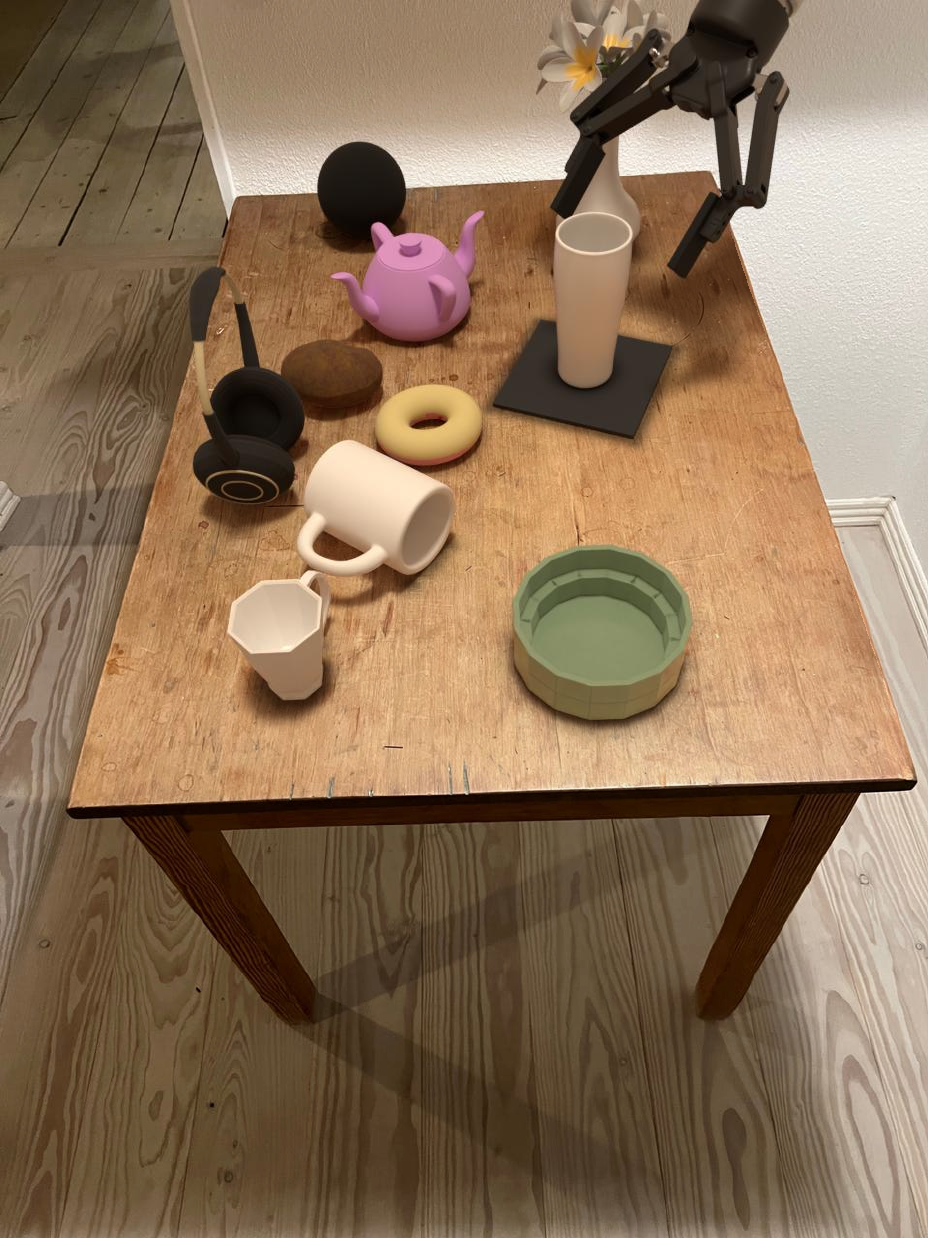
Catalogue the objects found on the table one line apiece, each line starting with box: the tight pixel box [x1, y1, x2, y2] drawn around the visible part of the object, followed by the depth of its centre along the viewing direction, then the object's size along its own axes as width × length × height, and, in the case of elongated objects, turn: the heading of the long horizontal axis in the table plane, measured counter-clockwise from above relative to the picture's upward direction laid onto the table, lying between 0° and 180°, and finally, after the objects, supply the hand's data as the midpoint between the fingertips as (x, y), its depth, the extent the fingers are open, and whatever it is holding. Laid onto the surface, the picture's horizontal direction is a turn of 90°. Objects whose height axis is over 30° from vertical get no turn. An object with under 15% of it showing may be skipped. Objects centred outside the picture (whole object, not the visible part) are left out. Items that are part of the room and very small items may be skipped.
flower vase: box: [535, 0, 674, 243], centre depth 96 cm, size 13×18×25 cm
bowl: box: [512, 544, 694, 721], centre depth 71 cm, size 13×13×5 cm
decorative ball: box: [316, 141, 407, 240], centre depth 107 cm, size 10×10×10 cm
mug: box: [296, 439, 457, 578], centre depth 77 cm, size 12×10×8 cm
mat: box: [492, 319, 673, 440], centre depth 93 cm, size 14×14×1 cm
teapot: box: [330, 210, 485, 343], centre depth 97 cm, size 12×14×9 cm
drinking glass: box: [552, 212, 633, 388], centre depth 87 cm, size 7×7×15 cm
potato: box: [280, 338, 384, 409], centre depth 90 cm, size 7×10×6 cm
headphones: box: [188, 266, 306, 505], centre depth 79 cm, size 9×15×20 cm, turn 179°
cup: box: [226, 570, 332, 701], centre depth 71 cm, size 7×10×8 cm
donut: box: [374, 383, 484, 466], centre depth 88 cm, size 10×5×9 cm
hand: (615, 242), depth 83 cm, fingers open, 13 cm apart
